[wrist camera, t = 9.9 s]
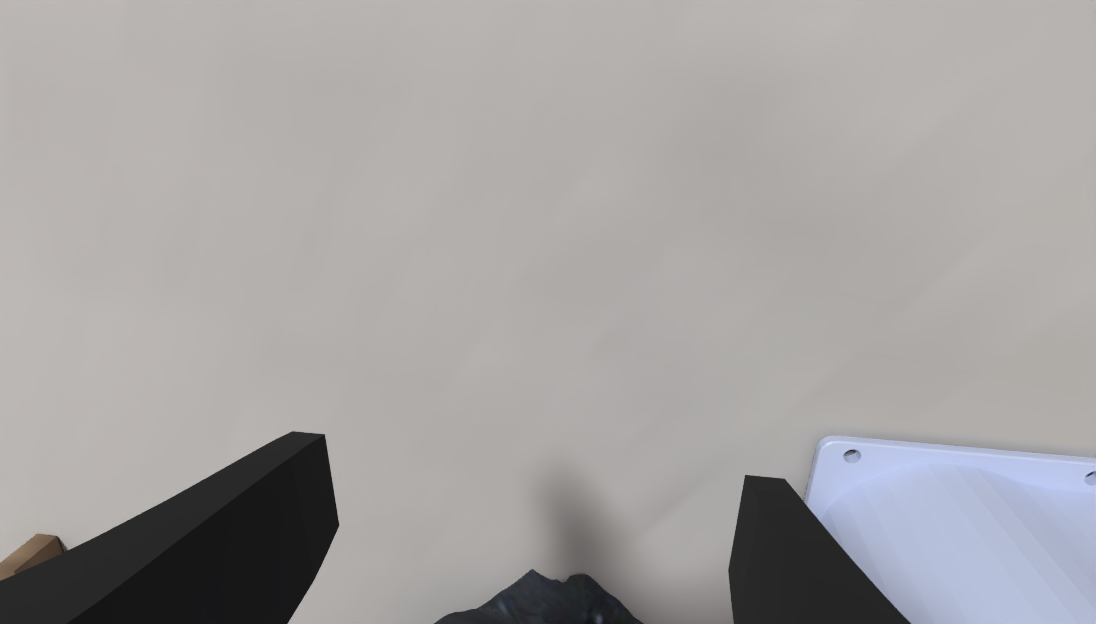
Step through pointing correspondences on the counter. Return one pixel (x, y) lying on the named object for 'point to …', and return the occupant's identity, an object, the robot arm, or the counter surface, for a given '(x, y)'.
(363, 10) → the counter surface
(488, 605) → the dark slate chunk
